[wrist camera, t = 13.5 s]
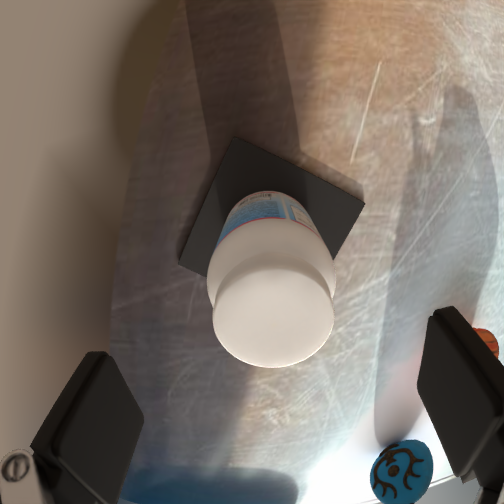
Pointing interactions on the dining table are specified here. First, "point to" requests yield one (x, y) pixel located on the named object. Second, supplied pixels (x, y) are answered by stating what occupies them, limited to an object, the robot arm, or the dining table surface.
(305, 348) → the pill bottle
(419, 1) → the dining table surface
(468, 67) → the dining table surface
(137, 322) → the dining table surface
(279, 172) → the plate
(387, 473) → the ornament
